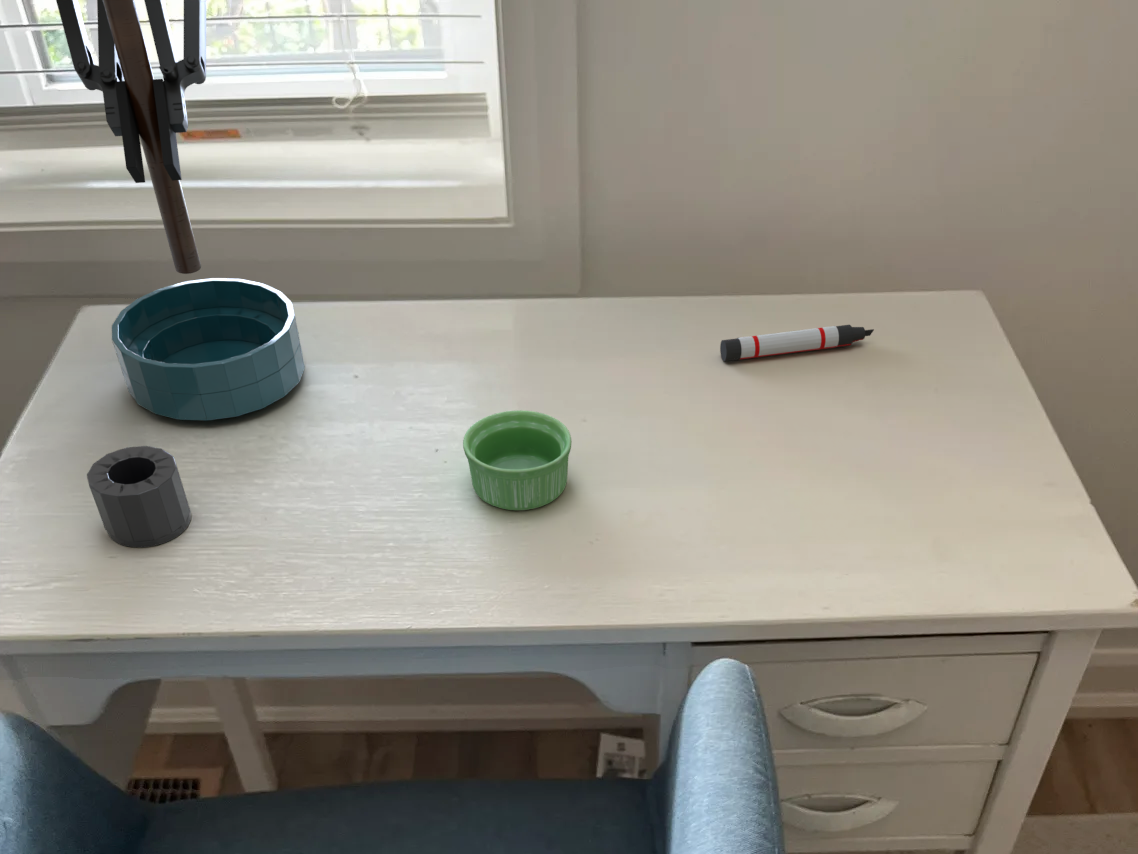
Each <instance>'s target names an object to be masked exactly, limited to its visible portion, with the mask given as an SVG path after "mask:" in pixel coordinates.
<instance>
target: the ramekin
mask: <svg viewBox="0 0 1138 854" xmlns="http://www.w3.org/2000/svg"><path fill="white" fill-rule="evenodd" d="M462 441H463V442H462V448H463V451H464V455H465V457H466V459H467V463H468V467H469V473H470V479H471V484H472V487H473V490H474V492H475V494H476V496H477V497H479V498H480V499H481V500H482V501H483V502H485V503H486V504H489V505H491V506H493V507H496V508H499V509H503V510H508V511H526V510H527V511H528V510H534V509H538V508H540V507H543V506H546V505H549V504H550V503H552V502H553V501H555V500H557V498H559V497H560V496H561V495H562V493H563V492H564V490H565V488H566V487H567V486H566V485H567V481H568V471H569V470H568V469H569V455H570V452H571V449H572V435H571V433H570V431H569V429H568V427H567V426H566V425H565V424H564V423H563V422H561V421H560V420H559V419H557V418H556V417H553V416H551V415H549V414H547V413H546V414H545V413H543V412H539V411H532V410H522V409H521V410H517V409H516V410H505V411H500V412H497V413H493V414H490V415H487V416H485V417H483V418H481V419H478V421H476V422H475V423H472V425H470V427H469V428H468V429H467V431H466V432H465V433H464V437H463V440H462Z"/></svg>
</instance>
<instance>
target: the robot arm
mask: <svg viewBox="0 0 1138 854" xmlns="http://www.w3.org/2000/svg"><path fill="white" fill-rule="evenodd" d="M55 1H56V5H57V9H58V13H59V17H60V20H61V24H62V28H63V32H64V35H65V40H66V43H67V47H68V51H69V55H70V58H71V61H72V65H73V69H74V71H75V73H76V74H77V76H78V78H79V79H80V81H81V82H82V83H83V86H84V87H85V88H86V89H87V90H89V91H95V90H96V91H100V92H102V98H103V104H104V112H105V119H106V123H107V125H108V127H109V129H110V130H111V132H112V134H113V135H114V137H121V138H122V139H121V141H122V145H123V154H124V161H125V168H126V170H127V171H128V173H129V175H130V176H131V178H132V180H133V182H134V183H135V184H139V183H140V184H143V183H146V177H145V170H144V169H145V168H144V162H143V155H142V144H141V140H140V136H139V132H138V128H137V125H136V121H135V117H134V114H133V110H132V106H131V103H130V99H129V95H128V91H127V88H126V84H125V81H124V77H123V73H122V70H121V66H120V62H119V59H118V55H117V51H116V47H115V44H114V40H113V36H112V33H111V29H110V25H109V22H108V18H107V14H106V11H105V7H104V3H103V0H96V8H97V9H96V11H97V12H96V13H97V48H98V50H97V51H98V54H97V55H98V65H96V64H95V60H94V57H93V53H92V49H91V45H90V41H89V38H88V34H87V30H86V26H85V22H84V19H83V15H82V11H81V7H80V3H79V0H55ZM166 4H167V3H166V0H144V6H145V9H146V14H147V18H148V21H149V26H150V31H151V34H152V38H153V43H154V47H155V51H156V55H157V60H158V63H159V66H158V69H159V71H160V73H161V75H162V77H163V78H154V79H153V87H154V94H155V102H156V110H157V118H158V125H159V133H160V141H161V149H162V156H163V164H164V167H165V169H166V171H167V172H168V174H169V176H170V178H171V179H172V181H174V180H180V181H182V180H183V178H182V172H181V163H180V156H179V148H178V140H177V134H179V133H187V132H188V127H189V122H188V121H189V120H188V113H187V105H186V98H185V97H186V96H185V92H186V90H187V88H188V87H189V86H192V85H194V84H195V85H203V84H204V83H205V82H206V79H207V0H183V59H180V60H179V58H178V54H177V49H176V45H175V41H174V37H173V32H172V28H171V24H170V21H169V20H170V19H169V16H168V12H167V11H168V10H167V8H166V7H167V6H166Z"/></svg>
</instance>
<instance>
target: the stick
mask: <svg viewBox="0 0 1138 854" xmlns="http://www.w3.org/2000/svg"><path fill="white" fill-rule="evenodd" d="M103 3H104V7H105V11H106V14H107V18H108V22H109V25H110V29H111V33H112V36H113V40H114V44H115V47H116V51H117V55H118V59H119V62H120V66H121V70H122V73H123V78H124V81H125V84H126V88H127V91H128V95H129V99H130V103H131V106H132V110H133V114H134V117H135V121H136V125H137V128H138V132H139V138H140V144H141V148H142V151H143V154H144V155H143V156H144V158H145V162H146V165H147V168H148V173H149V176H150V180H151V184H152V187H153V191H154V195H155V198H156V203H157V207H158V210H159V214H160V217H161V221H162V224H163V229H164V232H165V236H166V239H167V243H168V247H169V252H170V253H171V258H172V261H173V265H174V269H175V271H176V272H177V273H179V274H183V275H189V274H193V273H197V272H198V271H200V270H201V268H202V263H201V259H200V256H199V251H198V247H197V243H196V240H195V236H194V232H193V228H192V224H191V220H190V215H189V211H188V208H187V204H186V199H185V195H184V192H183V188H182V184H181V180H174V181H172V179H171V178H170V176H169V174H168V172H167V171H166V169H165V167H164V164H163V156H162V149H161V141H160V133H159V125H158V118H157V110H156V102H155V94H154V87H153V79H155V78H154V74H153V68H152V65H151V62H150V58H149V54H148V49H147V46H146V42H145V38H144V35H143V34H144V33H143V30H142V26H141V22H140V18H139V14H138V11H137V7H136V2H135V0H103Z"/></svg>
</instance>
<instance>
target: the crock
mask: <svg viewBox="0 0 1138 854" xmlns="http://www.w3.org/2000/svg"><path fill="white" fill-rule="evenodd" d="M86 478H87V482H88V487H89V489H90V492H91V494H92V498H93V500H94V502H95V506H96V508H97V510H98V513H99V517H100V519H101V522H102V524H103V527H104V529H105V531H106V534H107V535H108V537H109V538H110V539H111V540H112V541H113V542H115V543H117V544H118V545H121V546H125V547H128V548H149V547H155V546H160V545H163V544H165V543H168V542H171V541H172V540H174V539H175V538H177V537H179V536H180V535H182V534H183V533H184V532H185V531H186V530H187V528H188V527H189V526H190V523H191V520H192V513H191V509H190V504H189V501H188V498H187V495H186V492H185V488H184V485H183V482H182V479H181V476H180V472H179V469H178V465H177V462H176V459H175V457H174V455H173V454H171V453H169V452H168V451H166V450H165V449H163V448H160V447H155V446H151V445H150V446H149V445H139V446H138V445H137V446H127V447H123V448H120V449H117V450H115V451H114V450H113V451H112V452H108V453H106V454H105V455H103V456H102V457H100V458H99V459H98V460H96V461H94V462H93V463H92V465H91V466H90V468H89V470H88V471H87V473H86Z"/></svg>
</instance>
